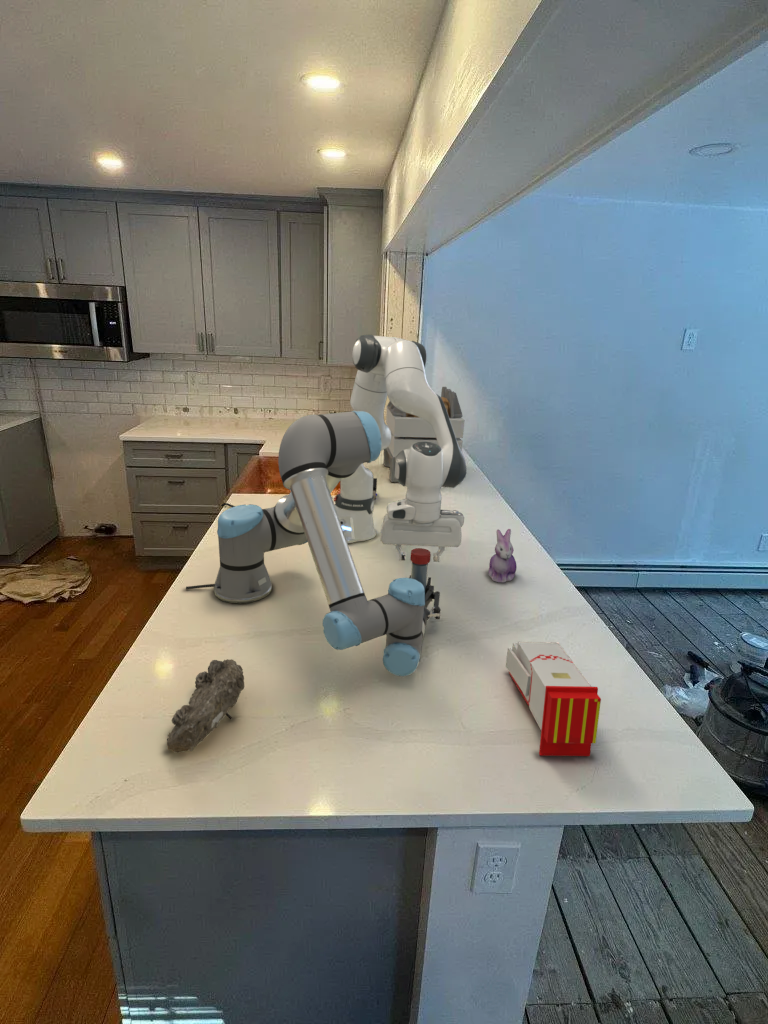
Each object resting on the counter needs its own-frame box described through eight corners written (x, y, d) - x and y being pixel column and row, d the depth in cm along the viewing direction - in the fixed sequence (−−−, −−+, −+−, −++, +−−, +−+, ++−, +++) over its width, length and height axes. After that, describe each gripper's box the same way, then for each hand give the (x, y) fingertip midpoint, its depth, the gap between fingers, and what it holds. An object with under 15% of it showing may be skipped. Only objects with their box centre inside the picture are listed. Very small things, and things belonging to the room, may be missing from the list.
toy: (554, 624, 127) (610, 694, 97) (548, 679, 130) (602, 763, 100) (500, 623, 126) (541, 693, 97) (496, 678, 129) (534, 763, 100)
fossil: (192, 660, 117) (244, 628, 112) (224, 691, 120) (276, 661, 115) (142, 746, 98) (202, 712, 93) (182, 779, 101) (242, 748, 96)
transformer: (382, 463, 289) (386, 382, 275) (445, 464, 293) (451, 384, 279) (390, 482, 257) (394, 392, 243) (460, 483, 261) (468, 394, 247)
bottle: (414, 606, 152) (418, 550, 146) (427, 611, 149) (432, 554, 144) (405, 611, 149) (409, 554, 143) (418, 617, 146) (422, 559, 141)
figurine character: (377, 508, 228) (376, 492, 242) (377, 490, 225) (377, 476, 238) (360, 507, 228) (361, 492, 242) (360, 490, 225) (361, 475, 238)
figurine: (500, 586, 164) (506, 538, 159) (479, 572, 173) (484, 526, 168) (525, 580, 169) (532, 534, 164) (503, 567, 177) (509, 522, 172)
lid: (432, 558, 146) (432, 549, 145) (427, 566, 141) (428, 557, 140) (413, 555, 147) (414, 546, 146) (407, 562, 143) (408, 553, 142)
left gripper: (371, 634, 133) (387, 589, 154) (445, 644, 130) (451, 597, 152) (372, 606, 130) (389, 564, 152) (448, 615, 128) (453, 571, 149)
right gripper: (463, 506, 142) (458, 556, 147) (381, 503, 142) (379, 553, 147) (466, 515, 136) (461, 567, 141) (381, 511, 136) (379, 564, 141)
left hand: (420, 580), depth 152 cm, fingers closed on bottle, 4 cm apart
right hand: (419, 560), depth 144 cm, fingers open, 7 cm apart
